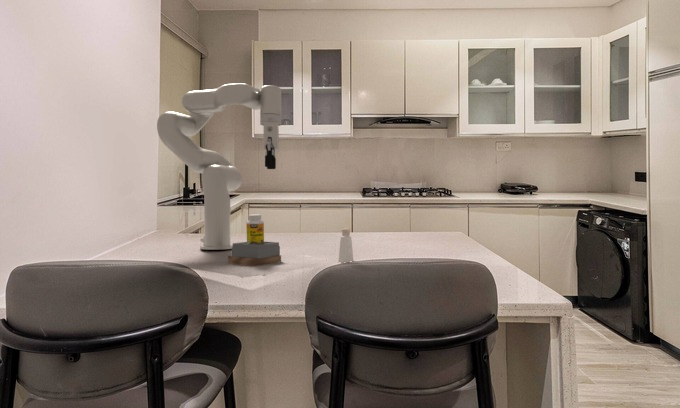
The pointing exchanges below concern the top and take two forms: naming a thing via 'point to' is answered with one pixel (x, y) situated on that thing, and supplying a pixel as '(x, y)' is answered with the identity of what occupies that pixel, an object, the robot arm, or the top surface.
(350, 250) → the pepper shaker
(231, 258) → the tower base
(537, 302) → the top surface
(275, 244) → the tower top
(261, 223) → the supplement bottle
